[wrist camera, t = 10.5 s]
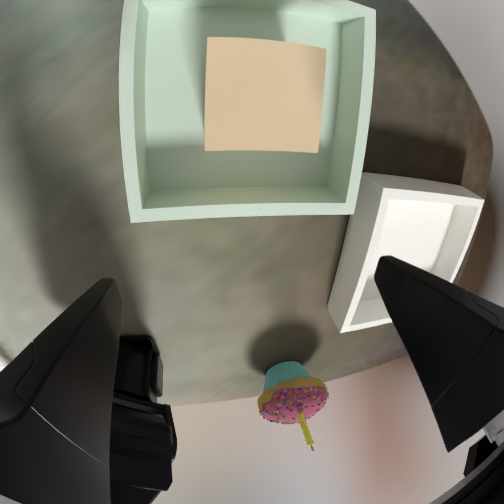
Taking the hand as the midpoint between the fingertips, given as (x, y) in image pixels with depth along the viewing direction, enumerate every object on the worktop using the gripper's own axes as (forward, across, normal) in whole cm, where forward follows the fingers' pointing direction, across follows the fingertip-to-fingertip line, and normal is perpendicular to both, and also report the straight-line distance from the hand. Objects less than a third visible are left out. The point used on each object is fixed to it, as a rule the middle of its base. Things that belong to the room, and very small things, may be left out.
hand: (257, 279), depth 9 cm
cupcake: (+12, -7, +24) cm, 28 cm away
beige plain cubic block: (+11, -1, -6) cm, 12 cm away
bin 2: (+11, -17, +6) cm, 22 cm away
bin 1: (+11, -1, -6) cm, 13 cm away
